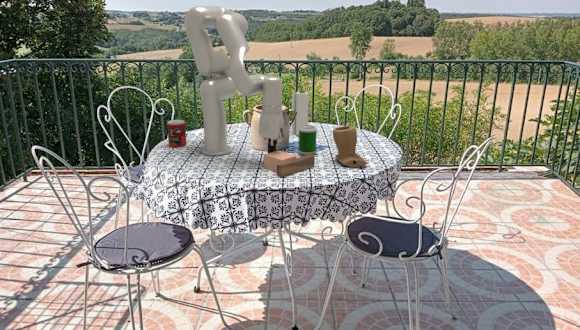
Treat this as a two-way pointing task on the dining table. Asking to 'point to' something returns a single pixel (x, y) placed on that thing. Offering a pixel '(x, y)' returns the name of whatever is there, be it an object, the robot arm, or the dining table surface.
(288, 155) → the brick
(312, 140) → the soda can
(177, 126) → the canned food
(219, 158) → the dining table surface
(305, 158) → the board
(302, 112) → the paper towel roll
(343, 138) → the tan boot-shaped piece
